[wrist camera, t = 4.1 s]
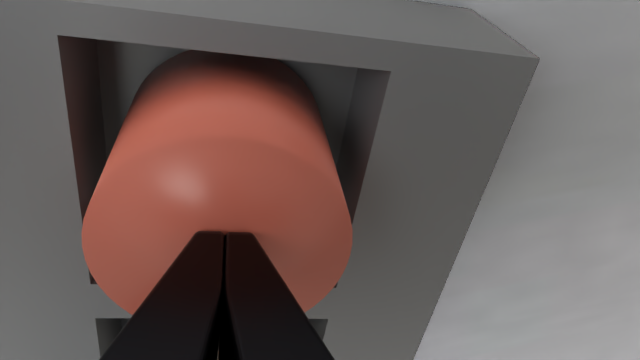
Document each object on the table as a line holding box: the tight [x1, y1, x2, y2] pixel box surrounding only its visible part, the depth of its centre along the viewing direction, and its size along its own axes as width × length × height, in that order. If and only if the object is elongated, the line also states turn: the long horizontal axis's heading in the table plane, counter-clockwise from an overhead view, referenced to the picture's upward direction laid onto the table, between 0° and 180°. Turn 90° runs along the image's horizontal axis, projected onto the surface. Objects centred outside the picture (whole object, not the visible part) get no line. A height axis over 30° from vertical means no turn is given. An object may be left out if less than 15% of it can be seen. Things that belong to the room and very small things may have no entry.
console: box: [0, 0, 540, 360], centre depth 13 cm, size 18×10×3 cm, turn 171°
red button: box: [81, 50, 353, 315], centre depth 9 cm, size 4×4×4 cm
